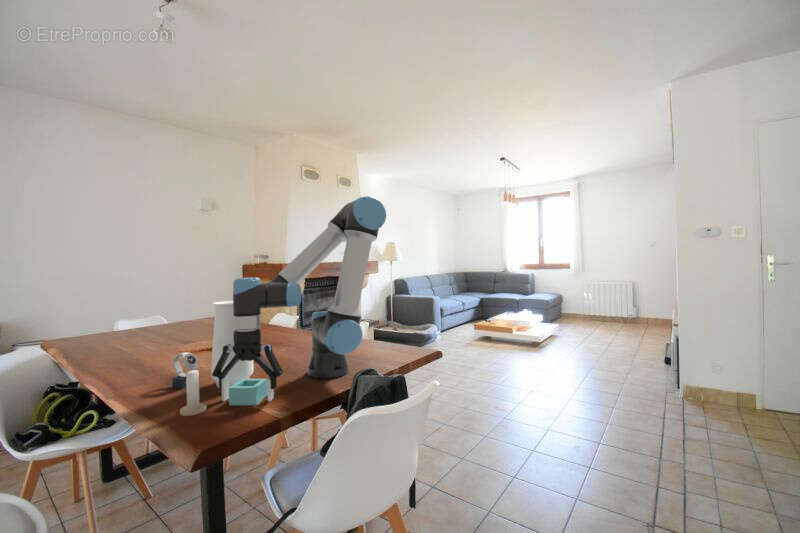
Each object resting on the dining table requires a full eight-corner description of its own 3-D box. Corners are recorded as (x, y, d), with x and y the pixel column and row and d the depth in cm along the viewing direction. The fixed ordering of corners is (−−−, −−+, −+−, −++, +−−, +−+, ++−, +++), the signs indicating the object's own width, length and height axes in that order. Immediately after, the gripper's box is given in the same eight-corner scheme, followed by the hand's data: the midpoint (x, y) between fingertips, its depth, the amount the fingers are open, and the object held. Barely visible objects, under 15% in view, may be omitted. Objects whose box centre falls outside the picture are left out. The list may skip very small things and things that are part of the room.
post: (211, 406, 100) (210, 368, 100) (197, 416, 93) (196, 375, 93) (189, 406, 100) (188, 368, 100) (174, 416, 93) (173, 375, 93)
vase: (257, 376, 126) (255, 299, 126) (249, 388, 114) (247, 303, 113) (218, 379, 124) (216, 300, 123) (206, 392, 111) (204, 305, 111)
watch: (188, 389, 114) (187, 355, 114) (168, 387, 116) (167, 354, 116) (201, 383, 120) (201, 351, 120) (182, 381, 122) (182, 350, 122)
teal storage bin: (267, 394, 108) (267, 378, 108) (256, 405, 100) (256, 387, 100) (242, 394, 108) (242, 378, 108) (229, 405, 100) (228, 388, 100)
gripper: (292, 326, 107) (293, 394, 108) (213, 326, 108) (213, 394, 108) (284, 331, 100) (285, 404, 100) (198, 331, 101) (199, 404, 101)
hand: (248, 399), depth 104 cm, fingers open, 13 cm apart
